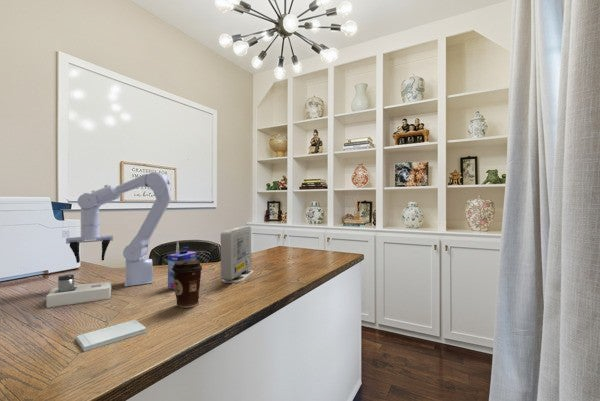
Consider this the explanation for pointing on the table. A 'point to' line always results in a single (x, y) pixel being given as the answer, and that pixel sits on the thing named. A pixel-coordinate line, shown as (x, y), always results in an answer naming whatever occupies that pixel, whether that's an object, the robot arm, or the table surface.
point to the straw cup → (175, 258)
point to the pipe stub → (66, 283)
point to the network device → (235, 254)
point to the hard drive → (110, 335)
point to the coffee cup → (187, 283)
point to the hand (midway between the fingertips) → (90, 261)
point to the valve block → (80, 294)
